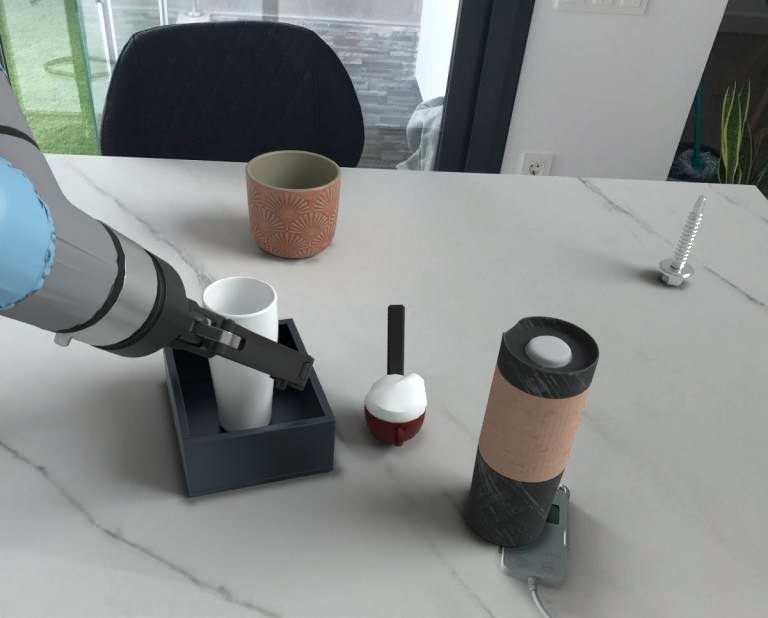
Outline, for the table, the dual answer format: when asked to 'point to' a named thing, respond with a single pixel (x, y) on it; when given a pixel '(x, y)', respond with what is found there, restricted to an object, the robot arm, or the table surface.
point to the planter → (293, 202)
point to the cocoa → (396, 390)
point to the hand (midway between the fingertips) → (240, 353)
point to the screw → (683, 248)
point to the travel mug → (529, 427)
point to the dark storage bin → (249, 446)
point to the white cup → (233, 380)
